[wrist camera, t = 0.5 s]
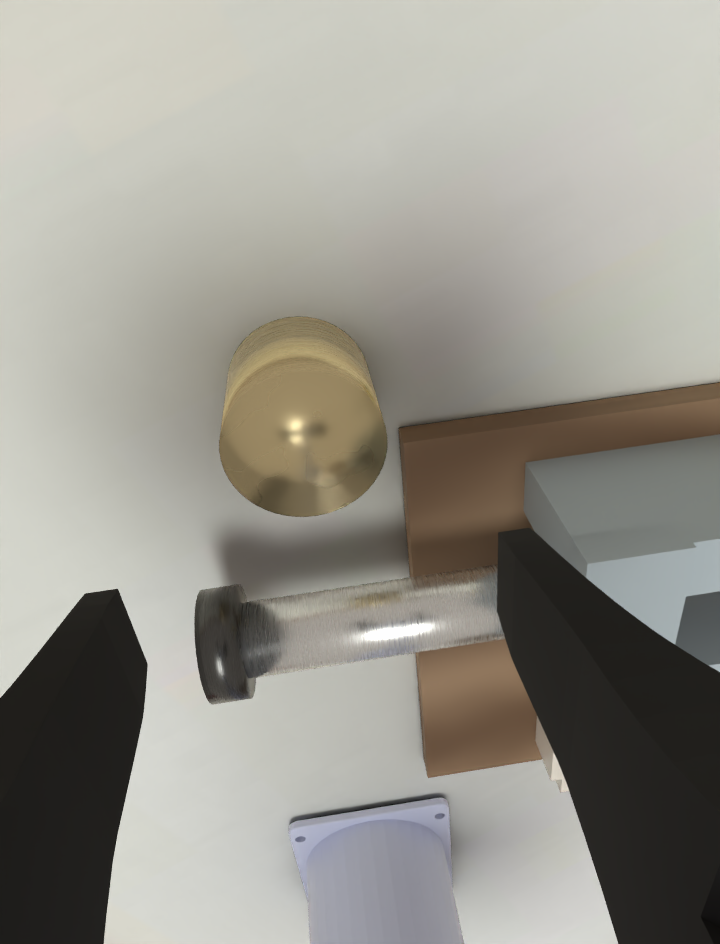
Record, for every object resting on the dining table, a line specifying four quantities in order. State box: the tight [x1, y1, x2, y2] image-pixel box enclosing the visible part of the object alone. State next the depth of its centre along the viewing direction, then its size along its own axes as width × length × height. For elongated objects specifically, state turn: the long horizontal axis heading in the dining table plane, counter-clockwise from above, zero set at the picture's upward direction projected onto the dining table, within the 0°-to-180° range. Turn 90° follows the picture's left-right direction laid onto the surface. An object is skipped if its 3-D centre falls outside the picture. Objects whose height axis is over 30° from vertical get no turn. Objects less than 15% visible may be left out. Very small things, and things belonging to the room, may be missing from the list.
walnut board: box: [399, 383, 720, 778], centre depth 27 cm, size 18×16×1 cm
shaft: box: [195, 564, 505, 704], centre depth 22 cm, size 4×13×4 cm, turn 96°
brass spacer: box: [219, 317, 387, 517], centre depth 19 cm, size 4×4×4 cm
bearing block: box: [524, 434, 720, 672], centre depth 22 cm, size 7×11×5 cm, turn 96°
